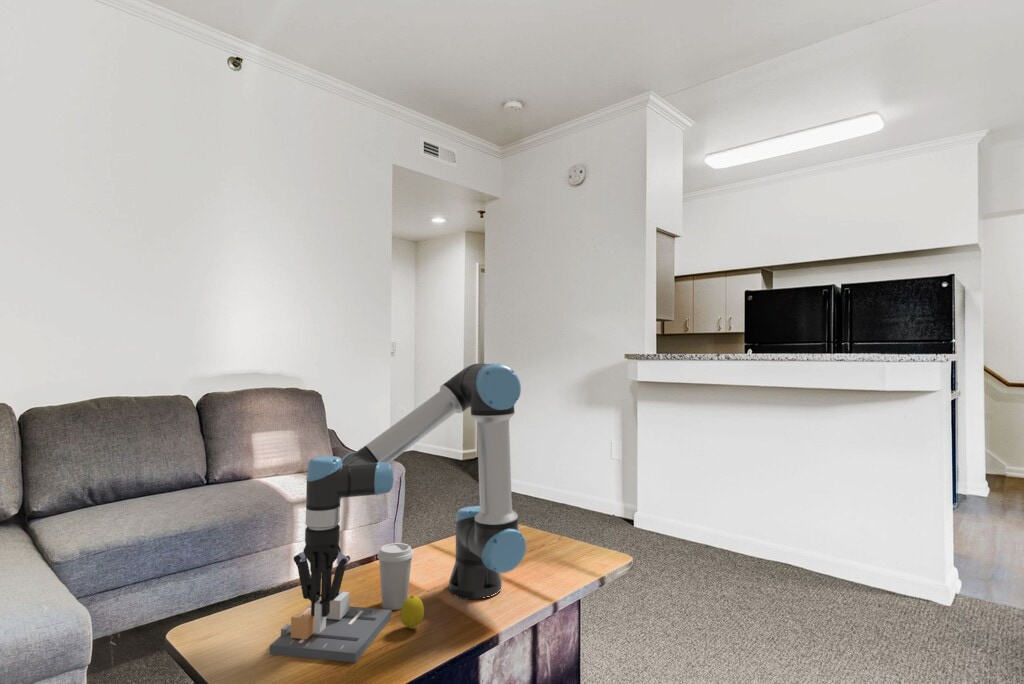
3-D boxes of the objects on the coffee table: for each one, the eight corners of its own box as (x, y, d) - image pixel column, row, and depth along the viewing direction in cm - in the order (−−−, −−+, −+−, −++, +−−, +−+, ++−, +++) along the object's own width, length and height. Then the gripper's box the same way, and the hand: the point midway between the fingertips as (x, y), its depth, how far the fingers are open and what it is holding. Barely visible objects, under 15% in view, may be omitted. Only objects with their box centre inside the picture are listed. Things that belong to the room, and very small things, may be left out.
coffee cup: (412, 611, 142) (413, 553, 143) (374, 613, 141) (376, 554, 141) (412, 596, 152) (414, 541, 152) (377, 598, 150) (378, 542, 151)
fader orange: (318, 628, 128) (318, 608, 128) (307, 639, 123) (307, 617, 123) (302, 627, 128) (302, 606, 128) (290, 637, 123) (291, 616, 123)
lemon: (401, 623, 135) (402, 591, 136) (424, 623, 136) (425, 590, 136) (399, 634, 130) (399, 600, 130) (422, 634, 130) (423, 600, 131)
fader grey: (349, 610, 137) (349, 591, 137) (339, 619, 132) (340, 599, 132) (334, 609, 138) (334, 590, 138) (324, 618, 133) (324, 598, 133)
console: (391, 618, 138) (391, 604, 138) (355, 662, 118) (356, 646, 118) (317, 611, 141) (317, 598, 141) (269, 654, 121) (269, 638, 121)
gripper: (356, 522, 128) (354, 624, 128) (304, 519, 130) (302, 620, 129) (342, 531, 121) (339, 640, 120) (287, 528, 123) (284, 635, 122)
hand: (319, 629), depth 125 cm, fingers closed
